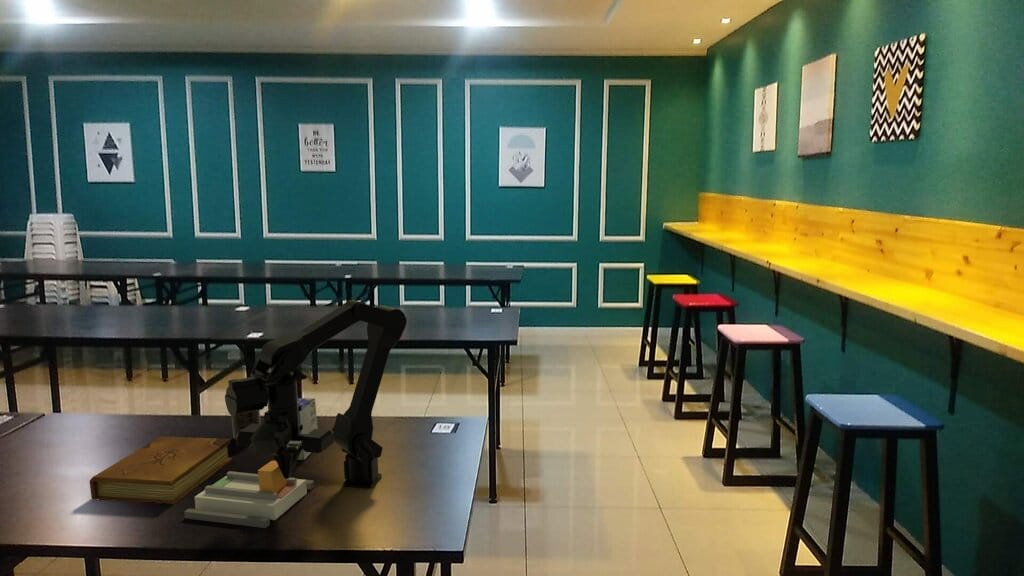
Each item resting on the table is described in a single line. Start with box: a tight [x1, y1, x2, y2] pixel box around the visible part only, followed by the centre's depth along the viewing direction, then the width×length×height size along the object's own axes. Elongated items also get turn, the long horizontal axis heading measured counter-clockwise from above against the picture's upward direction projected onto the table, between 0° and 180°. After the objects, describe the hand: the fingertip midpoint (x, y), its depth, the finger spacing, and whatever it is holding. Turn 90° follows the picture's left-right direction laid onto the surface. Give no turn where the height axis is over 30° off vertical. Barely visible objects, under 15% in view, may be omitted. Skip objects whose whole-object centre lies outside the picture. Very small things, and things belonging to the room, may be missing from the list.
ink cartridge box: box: [297, 396, 319, 461], centre depth 171 cm, size 10×6×14 cm, turn 174°
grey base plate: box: [183, 478, 315, 529], centre depth 146 cm, size 18×18×1 cm
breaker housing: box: [194, 470, 308, 521], centre depth 146 cm, size 18×12×4 cm, turn 76°
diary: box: [89, 435, 233, 505], centre depth 158 cm, size 23×19×6 cm
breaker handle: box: [257, 460, 287, 493], centre depth 144 cm, size 3×5×5 cm, turn 166°
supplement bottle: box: [231, 410, 262, 442], centre depth 181 cm, size 7×7×12 cm
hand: (287, 478), depth 143 cm, fingers closed
